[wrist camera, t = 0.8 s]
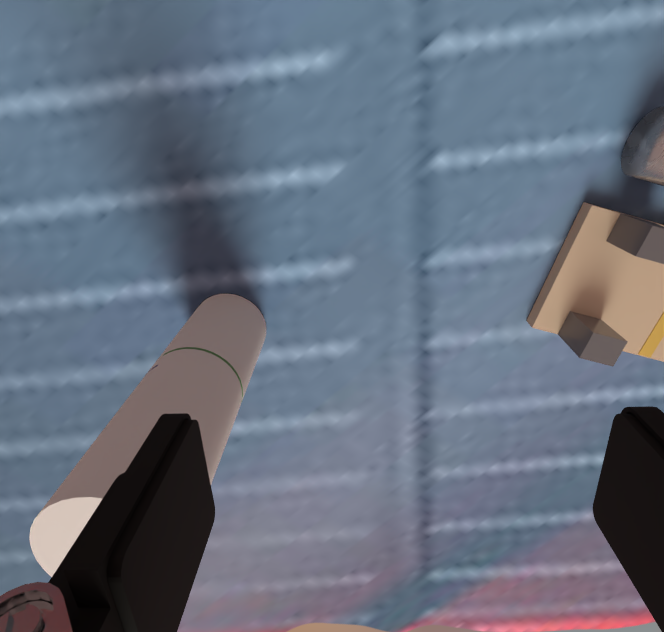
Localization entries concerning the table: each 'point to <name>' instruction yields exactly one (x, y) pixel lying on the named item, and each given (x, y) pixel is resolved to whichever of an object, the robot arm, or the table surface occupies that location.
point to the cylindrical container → (150, 403)
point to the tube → (646, 149)
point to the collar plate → (606, 287)
